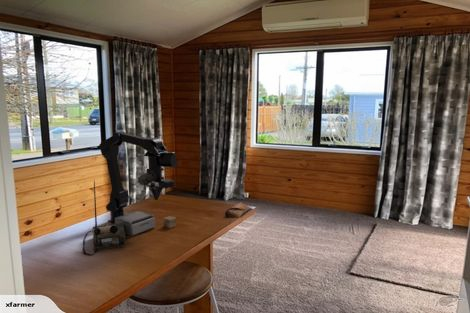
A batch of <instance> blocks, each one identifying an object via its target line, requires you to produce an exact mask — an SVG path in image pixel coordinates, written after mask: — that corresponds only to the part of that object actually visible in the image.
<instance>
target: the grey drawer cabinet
mask: <svg viewBox="0 0 470 313" xmlns="http://www.w3.org/2000/svg"><path fill="white" fill-rule="evenodd" d="M153 217H154V218H155V215H154V214H151V213H148V212H144V211H141V210H136V211H133V212H130V213H127V214H124V215H123V216H120V217H116V218H115V224H119V223H123V227H124V233H125V236H129V237H133V236H135V235H138V234H141V233H143V232H146V231H148V230H152V229H154V228H155V227H153V228H150V229H147V230H145V231H142V232H139V233H137V234H134V235H132V234H131V225H132V223H134V222H137V221H140V220H143V221H144V220H147V219H150V218H153Z"/></svg>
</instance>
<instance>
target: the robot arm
mask: <svg viewBox="0 0 470 313" xmlns="http://www.w3.org/2000/svg"><path fill="white" fill-rule="evenodd" d="M123 143H127V144H131V145H133V146H138V147H141V149H143V150H145V151H146V152H144V154H143V157H147V160H148V161H147V162H148V163H147V164H148V168H146V170H145V173H143V174H142V175H140V176H138V177H137V183H138V184H139V186H145V187H147V188H149V189H150V191H151V193H152V196H153V199H154V200H155V201H157V200H159V198H160V195H161V193H162V191H163V189H167V188H172V187H175V180H173V179H171V178H166V179H165V177H164V176H163V174H162V172H163V171H164V168H172V169H174V168H176V167H177V166H178V163H179V160H178V157H177V155H176V152H174V151H171V152H169V151H168V149H167V148H166V146H165V144H164V142H163V141H162V139H161V138H160V137H144V136H140V135H136V134H132V133H128V132H125V131H119V132H118V131H117V132H115V133H114V134H113V135H112V136H109V137H108V138H106V139H105V140H103V141H101V142H100V143H99V151H100V153H101V155H102V157H103V158H104V159H105V161H106V165H107V170H108V176H109V181H110V185H111V186H110V187H111V192H110V194H109V202H108V203H107V204H106V206H105V209H106V211H107V212H109V213H110V219H108V220H107V222H110V224H111V223H112V224H115V218H116V217H120V216H123V215H125V212H124V210H125V209H124V208H126V207H127V206H128V203H129V202H130V201H129V200H130V196H129V190H128V189H125V188H124V186H123V182H122V178H121V177H122V176H121V172H120V166H119V162H118V160H119V159H118V157H119V153H120V148H119V147H120V146H122V145H123Z"/></svg>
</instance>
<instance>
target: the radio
mask: <svg viewBox="0 0 470 313" xmlns="http://www.w3.org/2000/svg"><path fill="white" fill-rule="evenodd" d="M93 190H94V191H93V195H94V196H93V199H94V200H93V201H94V202H93V203H94V222H95V224H94V226H93V227H92V230H89V231H87V232H86V234H85V235H84V237H83V240H82V253H83V255H84V256H87V255H88V256H89V255H90V256H93V255H95V254H97V252H99V250H100V251H101V250H106V249H114V248H120V247H122V248H126V245H127V243H126V234H125V233H124V227H123V223H119V224H114V223H112V224H111V223H110V224H104V225H98V220H97V218H98V216H97V201H96V199H97V198H96V182H95V179H94V180H93ZM91 232H92V235H93V237H92V242H93V253H92V254H91V253H87V252H86V240H87V237H88V236H89V233H91ZM86 254H87V255H86ZM90 256H89V257H90Z"/></svg>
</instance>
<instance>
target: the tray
mask: <svg viewBox="0 0 470 313" xmlns="http://www.w3.org/2000/svg"><path fill="white" fill-rule="evenodd" d="M153 227H154V228H155V227H156V217H155V216H154V217H153V218H150V219H147V220H144V221H141V222H138V223H135V224H132V225H131V234H132V235H133V236H135V235H134V234H136V235H138V234H140V233H139V232H141V233H143V232H142V231H144V232H146V231H145V230H147V229H149V230H151V229H150V228H152V229H154V228H153ZM147 231H148V230H147ZM137 233H138V234H137Z"/></svg>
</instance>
